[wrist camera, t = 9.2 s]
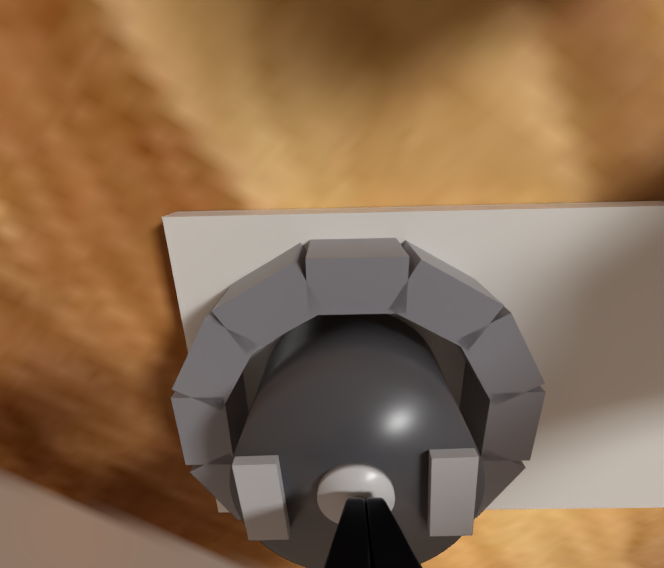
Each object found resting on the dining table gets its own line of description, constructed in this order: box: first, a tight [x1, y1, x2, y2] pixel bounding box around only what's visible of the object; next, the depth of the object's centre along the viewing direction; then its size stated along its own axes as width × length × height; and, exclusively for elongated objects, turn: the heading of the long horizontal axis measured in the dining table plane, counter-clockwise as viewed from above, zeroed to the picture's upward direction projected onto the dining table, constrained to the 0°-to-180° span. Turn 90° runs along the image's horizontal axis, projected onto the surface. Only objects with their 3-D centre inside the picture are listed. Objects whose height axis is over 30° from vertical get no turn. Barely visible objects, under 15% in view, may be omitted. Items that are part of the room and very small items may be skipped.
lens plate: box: [162, 201, 664, 521], centre depth 12 cm, size 19×12×3 cm, turn 91°
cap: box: [229, 314, 485, 568], centre depth 10 cm, size 6×6×4 cm
